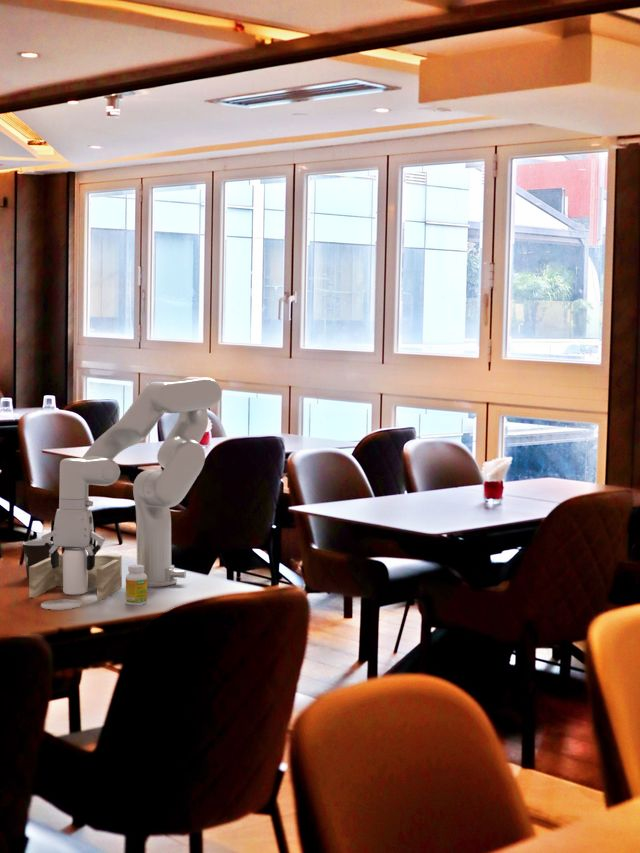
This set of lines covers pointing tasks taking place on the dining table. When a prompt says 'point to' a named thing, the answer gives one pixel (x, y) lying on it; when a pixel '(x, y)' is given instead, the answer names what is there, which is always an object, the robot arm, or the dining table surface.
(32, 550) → the coffee mug
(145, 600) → the supplement bottle
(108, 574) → the wooden arch stand
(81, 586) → the can
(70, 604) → the coaster
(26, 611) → the dining table surface
